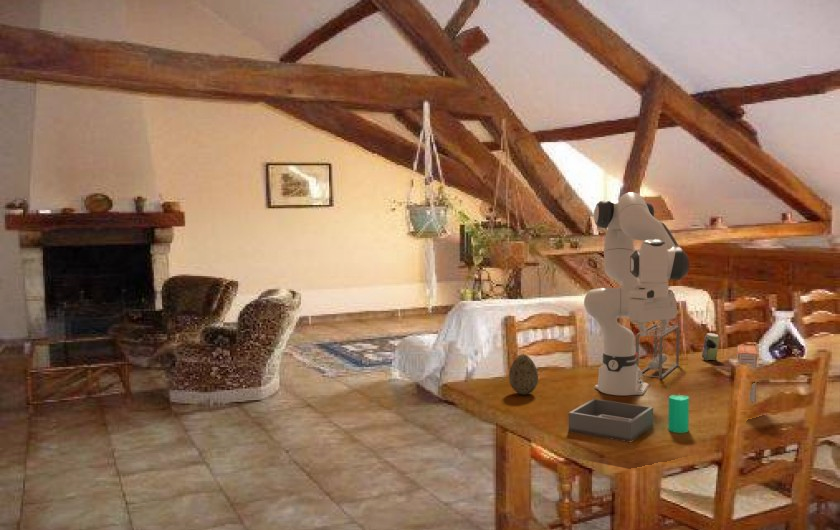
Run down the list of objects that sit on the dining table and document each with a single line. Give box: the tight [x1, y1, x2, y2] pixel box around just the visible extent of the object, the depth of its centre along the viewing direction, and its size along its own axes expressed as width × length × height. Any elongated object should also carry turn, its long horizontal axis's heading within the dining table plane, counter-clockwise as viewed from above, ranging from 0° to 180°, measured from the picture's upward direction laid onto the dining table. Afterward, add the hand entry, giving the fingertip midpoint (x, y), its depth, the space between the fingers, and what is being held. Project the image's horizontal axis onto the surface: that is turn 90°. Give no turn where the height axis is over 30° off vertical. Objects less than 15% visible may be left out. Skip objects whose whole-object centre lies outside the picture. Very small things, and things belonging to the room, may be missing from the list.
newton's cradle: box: [635, 323, 680, 380], centre depth 321 cm, size 30×10×18 cm, turn 149°
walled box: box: [568, 398, 654, 442], centre depth 243 cm, size 20×20×6 cm
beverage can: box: [701, 332, 720, 361], centre depth 341 cm, size 6×7×12 cm
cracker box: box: [736, 344, 758, 403], centre depth 263 cm, size 14×6×21 cm, turn 159°
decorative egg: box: [508, 353, 539, 396], centre depth 286 cm, size 11×11×15 cm
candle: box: [667, 394, 690, 434], centre depth 241 cm, size 6×6×12 cm
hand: (653, 334), depth 244 cm, fingers open, 8 cm apart
